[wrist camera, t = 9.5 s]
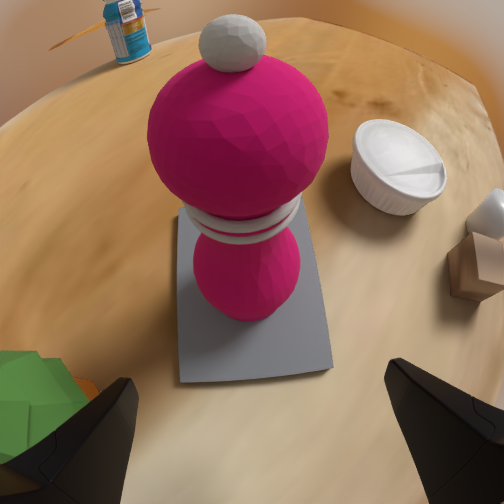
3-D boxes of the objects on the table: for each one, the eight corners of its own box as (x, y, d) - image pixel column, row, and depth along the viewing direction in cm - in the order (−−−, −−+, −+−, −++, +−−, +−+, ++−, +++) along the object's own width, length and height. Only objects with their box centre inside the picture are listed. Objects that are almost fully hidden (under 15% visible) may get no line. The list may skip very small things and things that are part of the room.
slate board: (330, 368, 21) (333, 367, 20) (183, 382, 21) (180, 382, 20) (300, 202, 28) (302, 196, 27) (181, 213, 27) (179, 207, 26)
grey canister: (494, 253, 25) (522, 230, 20) (469, 244, 26) (498, 219, 20) (487, 220, 27) (512, 195, 22) (463, 210, 28) (487, 182, 22)
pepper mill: (242, 230, 25) (226, -12, 7) (309, 278, 23) (409, 35, 5) (187, 290, 23) (53, 61, 5) (254, 346, 21) (251, 136, 3)
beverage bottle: (111, 68, 44) (88, -6, 26) (125, 53, 48) (107, -15, 30) (146, 61, 44) (127, -19, 26) (157, 46, 48) (143, -26, 30)
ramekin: (409, 244, 26) (434, 218, 21) (324, 184, 29) (334, 150, 24) (436, 184, 29) (454, 158, 25) (365, 137, 33) (376, 107, 28)
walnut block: (480, 301, 23) (508, 286, 18) (450, 296, 23) (479, 279, 19) (476, 261, 25) (502, 241, 20) (447, 253, 25) (472, 231, 21)
